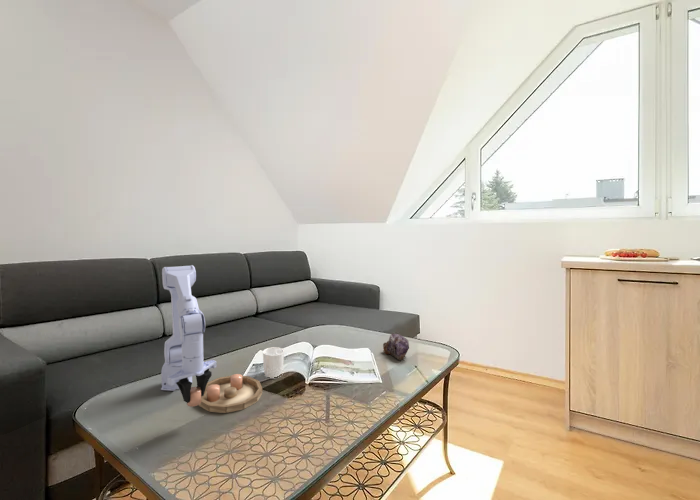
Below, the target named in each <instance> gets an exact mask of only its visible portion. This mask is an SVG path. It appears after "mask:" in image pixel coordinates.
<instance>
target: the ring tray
mask: <svg viewBox="0 0 700 500" xmlns="http://www.w3.org/2000/svg"><path fill="white" fill-rule="evenodd" d="M231 376H232V375H227V376H226V375H225V376H221V377H217V378H215V379H212V380H209V381H208V383H207V385H206V389H205V392H204V396H201V404H199V405H198V407H200V408H202V409H204V410H205V411H208V412H210V413H221V414H222V413H223V414H227V413H233V412H238V411H243V410H245V409H247V408H249V407H250V406H253V405H254V404H256V403H257V402H259V400H260V398H261V397H262V395H263V386H262V384H261V382H260V380H259V379H255V378H253V377H251V376H249V375H242V388H241V389H239V390H237V389H236V388H235V387H231ZM213 384H217V385H219V386H220V399H219V400H217V401H215V402H209V401H207V387H208V386H210V385H213Z"/></svg>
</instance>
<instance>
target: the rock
mask: <svg viewBox="0 0 700 500" xmlns="http://www.w3.org/2000/svg"><path fill="white" fill-rule="evenodd" d="M382 347H383V348H382V349H383V350H382V351H383V353H384V354H385V355H391V356H392V357H394V358H396V359H397V360H399V361H403V360H404V358H405V357H406V354H407V353H408V351H409V349H410V343H409V340H408V339H407V338H405V336H403V335H401V334H399V333H398V334H397V333H391V334H390V335H389V338H388V340H387V341H386V342H384V343H383V344H382Z"/></svg>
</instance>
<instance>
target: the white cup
mask: <svg viewBox="0 0 700 500" xmlns="http://www.w3.org/2000/svg"><path fill="white" fill-rule="evenodd" d="M262 360H263V361H262V364H263V372H264V374H265V375H264V374H263V375H264V377H265V376H267V377H270V378H269V379H275V378H274V377H277V376H279V375H280V374H281V372H282V370H283V371H284V362H285V361H284V360H285V350H284V348H282V347H278V346H273V347H267V348H264V349H263V351H262ZM267 377H266V378H267Z"/></svg>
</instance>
